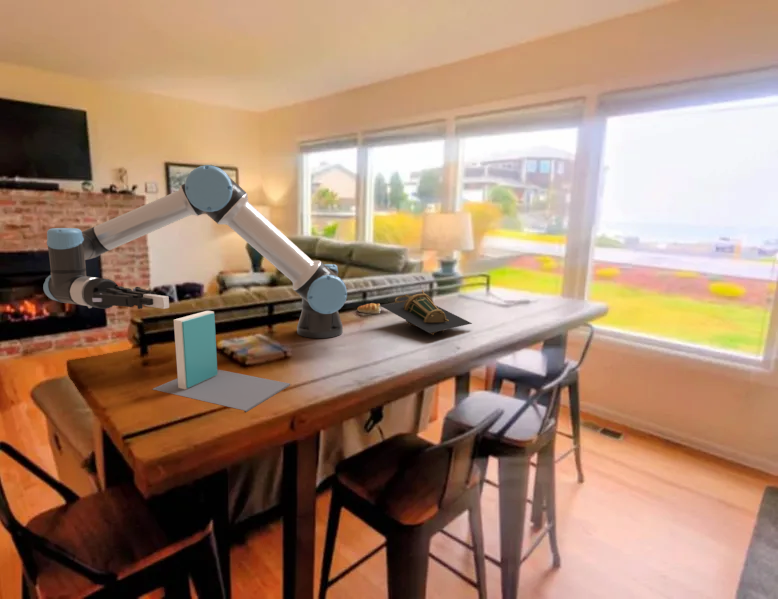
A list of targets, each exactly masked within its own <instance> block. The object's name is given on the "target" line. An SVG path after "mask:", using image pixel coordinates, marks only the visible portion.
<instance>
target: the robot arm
mask: <svg viewBox="0 0 778 599" xmlns="http://www.w3.org/2000/svg"><path fill="white" fill-rule="evenodd" d="M203 214H205V215H207V216H208V217H209V218H210V219H212V221H214V222H215V223H216V224H217V225H227V226H228V227H229V228H230V229H232V230H233V232H235V233H236V234H237V235H238V236H239V237H241V239H243V240H244V241H245V242H246V243H247V244H248V245H250V246H251V248H253V249H255V251H257V252H258V253H259V254H260V255H261V256H262V257H263V258H265V259H266V260H267V261H268V262H269V263H270V264H272V265H273V266H274V267H275V268H276V269H277V270H278V271H279V272H280V273H282V274H283V275H284V276H285V277H286V278H287V279H289V281H291V282H292V289H293V291H294V292H295V293H297V294H298V295H299V296H300V297H301V313H300V316H299V320H298V323H297V325H296V334H297V335H299V336H300V337H303V338H304V337H305V338H311V339H330V338H333V337H335V338H336V337H337V336H340V335H342V334H343V332H344V330H343V329H344V328H343V326H344V325H343V322H342V319H341V316H340V312H339V310H341V309H342V308H343V306H344V305H345V303H346V300H347V298H348V290H347V286H346V283H345V281H344V280H343V279H341V277H339V269H338V268H339V267H338V265H336V264H334V263H333V264H332V263H331V264H325V263H323V261H321V260H313V259H312V258H310V257H309V256H308V255H307V254H306V253H305V252H304V251H303V250H302V249H300V248H299V247H298V246H297V245H296V243H294V242H293V241H292V240H291V239H289V238H288V236H286V235H285V234H284V233H283V232H282V231H281V230H280V229H279V228H278V227H276V226H275V225H274V224H273V223H272V222H271V221H270V219H268V218H267V217H266V216H264V215H263V214H262V213H261V212H260V211H259V210H258V209H256V207H255V206H254V205H253V204H251V202H250V201H249V196H248V192H246V191H245V190H244V189H243V188H242V187H241V186H240V185H239V184H237V183H236V181H234V180H233V179H232V178H231V177H230V176H229V175H228V174H227V173H226V171H224V170H223V169H222V168H220V167H219V166H215V165H211V164H205V165H200V166H198V167H196V168H194V169H192V170H191V171H190V172H189V174H188V175H187V176H186V179H185V182H184V183H183V184H180V187H179V189H178V190H176V191H174V192H172V193H169V194H168V195H167V194H166V195H165V196H163V197H160V198H157V199H155V200H153V201H151V202H149V203H146V204H144V205H141V206H140V207H137V208H134V209H132V210H130V211H128V212H124V213H123V214H120V215H119V216H116V217H113V218H111V219H108V220H107V221H104V222H102V223H99V224H97V225H95V226H93V227H90V228H87V229H86V230H83V231H82V230H81V229H80V228H76V227H75V228H74V227H56V228H55V227H52V228H49V229H48V230H47V231H46V246H47V251H48V258H49V266H50V274H49V275H48V276H47V277H46V278H45V281H44V283H43V287H42V288H43V289H42V290H43V292H44V294H45V296H47V297H48V299H50V300H52V301H56V302H59V303H61V304H62V303H64V304H72V305H78V306H86V307H87V308H88V309H92V308H97V309H103V310H106V309H110V308H113V307H115V306H116V307H127V308H133V307H134V306H137V307H136V308H137V310H141V309H144V307H150V308H156V309H162V310H165V309H169V308H170V299H169V298H170V297H169V296H168V295H161V294H156V292H155V291H152V290H148V289H145V288H141V287H140V286H135V287H134V288H132V289H131V288H129V287H124V286H121V285H120V286H119V285H118V284H117V283H116V282H115V281H114V280H111V279H110V278H103V277H102V278H101V277H96V276H95V277H94V276H87V268H86V267H87V266H86V261H87V260H92V259H95V258H98V257H100V256H101V255H103V254H105V253H107V252H110V251H111V250H114V249H117V248H118V247H120V246H123V245H125V244H128V243H129V242H132V241H134V240H137V239H139V238H142V237H143V236H146V235H148V234H150V233H153V232H155V231H157V230H160V229H162V228H164V227H166V226H170V225H171V224H173V223H175V222H178V221H180V220H182V219H185V218H187V217H189V216H191V215H193V216H197V217H199V216H201V215H203ZM143 306H144V307H143Z"/></svg>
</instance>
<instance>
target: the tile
mask: <svg viewBox="0 0 778 599" xmlns="http://www.w3.org/2000/svg"><path fill="white" fill-rule="evenodd" d="M215 320H216V318H215V311H212V310H205V311H201V312H197V313H193V314H190V315H186V316H183V317H179V318H176V319H173V331H174V342H175V358H176V359H175V360H176V373H177V374H176V375H177V378H178V388H181V389H188V388H190V387H192V386H194V385H196V384H199V383H201V382H203V381H205V380H207V379H210V378H212V377H214V376H216V375H217V374H218V373H217V369H218V358H217V356H218V355H217V340H216V338H217V337H216V335H217V334H216V322H215Z"/></svg>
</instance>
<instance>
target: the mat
mask: <svg viewBox="0 0 778 599" xmlns="http://www.w3.org/2000/svg"><path fill="white" fill-rule="evenodd" d="M217 373H218V374H217V375H216V376H214V377H212V378H210V379H207V380H205V381H203V382H201V383H199V384H196V385H194V386H192V387H190V388H188V389H181V388H178V377H177V378H174V379H172V380H170V381H168V382H165V383H163V384H160V385H158V386H156V387H153V388H152V390H153V391H158V392H163V393H167V394H169V395H170V394H171V395H174V396H175V395H176V396H180V397H185V398H189V399H193V400H196V401H197V400H198V401H202V402H206V403H211V404H214V405H219V406H224V407H228V408H233V409H236V410H241V411H243V413H247V412H249V411H251V410H253V408H256V407H257V406H259V405H261V404H263V403H264V402H266V401H267V400H269V399H271V398H272V397H274V396H275V395H277V394H278V393H280V392H281V391H283V390H285V389H287V388H288V387H289V386H291V383H288V382H283V381H280V380H279V381H278V380H274V379H269V378H265V377H264V378H263V377H257V376H253V375H247V374H244V373H243V374H242V373H239V372H233V371H229V370H228V371H227V370H222V369H219V368H217Z"/></svg>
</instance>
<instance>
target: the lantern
mask: <svg viewBox="0 0 778 599" xmlns="http://www.w3.org/2000/svg"><path fill="white" fill-rule="evenodd" d="M401 298H407V299H406V300H398V299H401ZM381 307H382V308H384V309H385V310H387V311H389V312H390V313H392V314H394V315H395V316H398V317H399V318H402V319H403V320H404V321H406V322H407V323H406V324H407V325H409V326H412V327H418V328H420V329H421V330H423V331H425V332H426V333H428V334H432V335H433V336H434V335H435V334H436V333H439V332H442V333H444V332H445V330H449V329H454V328H458V327H463V326H466V325H472V324H473V322H471V321H468V320H466V319H464V318H462V317H460V316H458V315H457V314H454V313H452V312H450V311H448V310H446V309H444V308H442V307H440V306H438V305H436V304H434V300H433V298H431V296H430V295H428V294H426V293H425V292H424V290H423V289H422V290H421V293H416V294H413V295H410V294H407V293H406V294H405V295H400V296H396V298H395V301H394V302H393V303H386V304H380V308H381Z"/></svg>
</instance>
